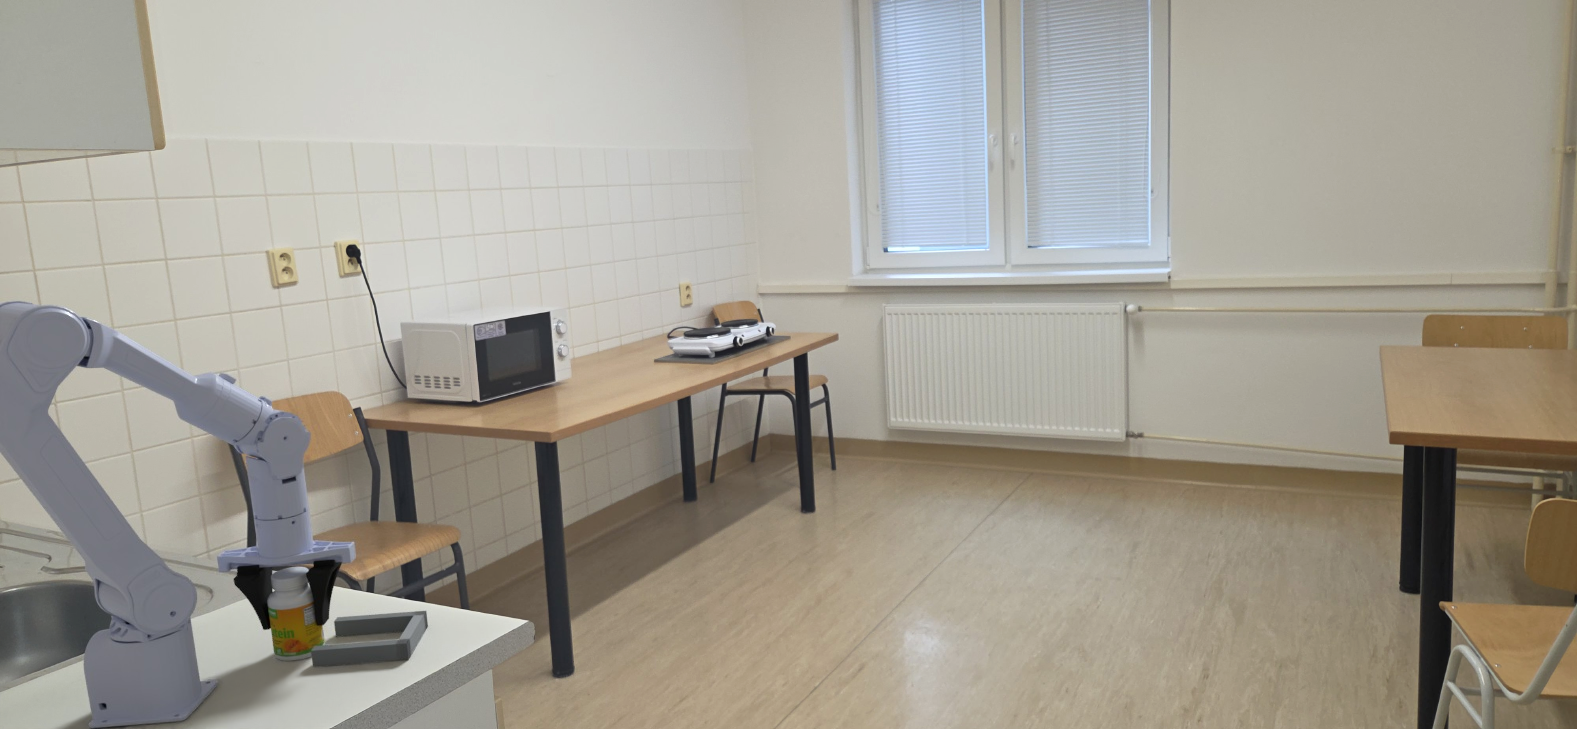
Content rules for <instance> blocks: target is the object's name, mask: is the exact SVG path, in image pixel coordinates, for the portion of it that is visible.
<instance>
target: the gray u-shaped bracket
mask: <svg viewBox="0 0 1577 729" xmlns="http://www.w3.org/2000/svg"><path fill="white" fill-rule="evenodd" d="M427 615H428V613H427V610H416V611H405V612H390V613H378V614H376V613H375V614H364V615H350V616H338V617H336V618H335V619H334V621H333V625H334V631H335V637H336V638H339V637H341V638H342V637H343V638H344V637H353V636H354V637H355V636H356V637H357V636H368V635H379V634H381V635H382V634H394V633H395V634H396V633H402V634H401V635H400V637H399V638H398V639H390V640H377V641H375V640H374V641H364V642H363V641H362V642H349V643H337V644H325V645H322V646H314V648H313V649H312V650H311V655H312V656H311V661H312V662H311V663H312V667H313V668H321V667H332V666H334V667H335V666H347V665H360V664H371V663H385V662H398V661H399V662H400V661H409V660H410V659H411V656H412V654H413V653H414V651H415V649H416V648H417V646H418V644H419V643H420V640H421V639H422V637H423V635H424V634H425V632H426V630H427V628H428V627H429V625H428V623H429V622H428V616H427Z"/></svg>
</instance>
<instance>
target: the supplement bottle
mask: <svg viewBox="0 0 1577 729" xmlns="http://www.w3.org/2000/svg"><path fill="white" fill-rule="evenodd" d="M309 570H310V569H309V568H307V567H305V566H292V567H285V568H283V569H280V570H277V571H275V572H272V575H271V584H272V590H274V591H273V592H272V593H271V594H270V595H269V597H268V600H267V603H268V611H269V618H270V626H271V628H270V632H271V639H272V646H273V648H272V649H273V652H274V653H273V654H274V656H275V658H277V659H278V660H279V661H284V662H286V661H287V662H291V661H292V662H293V661H299V660H304V659H308V658H312V655H311V650H312V649H313V648H314V646H322V645H326V643H325V635H324V625H321V626H317V623H316V619H315V610H314V600H313V596H312V592H311V588H310V585H309V582H308V580H307V577H306V573H307V572H308V571H309Z"/></svg>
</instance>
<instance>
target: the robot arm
mask: <svg viewBox="0 0 1577 729" xmlns="http://www.w3.org/2000/svg"><path fill="white" fill-rule="evenodd" d="M76 367H81V368H84V369H104V370H105V369H106V371H107V370H108V371H110V372H111V373H114V374H116V375H118V376H120V377H122V378H124V379H126V380H128V381H130V382H133V383H135V384H137V385H139V386H141V387H143V388H146V389H147V390H150V391H151V392H154V393H156V394H158V395H160V396H162V397H164V398H166V399H168V400H170V401H173V403H174V404H173V405H174V407H175V411H176V413H177V416H178V418H179V419H180V420H182V421H184V422H186V423H188V424H190V425H192V426H194V427H196V428H198V429H199V430H202V431H203V432H206V433H208V435H209V434H210V435H212V436H214V437H216V438H217V439H220V440H222V441H224V442H225V443H227V444H230V445H232V446H233V447H234V448H235V450H236V451H237V452H238V454H241V455H242V454H244V455H245V454H246V456H245V463H246V469H247V470H246V472H247V478H248V486H249V494H250V501H251V508H252V514H253V522H254V523H253V524H254V530H255V531H254V532H255V536H256V545H254V546H251V547H245V548H236V549H228V550H224V551H222V552H220V554H218V555H217V557H216V559H217V565H218V566H217V567H218V572H219V573H227V572H231V570H236V571H237V572H236V576H235V577H234V578H233V583H234V586H235V587H236V588H237V589H238V590H239V591H240V592H241V593H242V594H243V596H244V597H245V598H246V599H247V600H248V602H249V603H250V605H251V607H252V608H253V610H254V611H255V614H256V615H257V617H258V620H259V623H260V624H261V628H262V630H264V631H266V630H271V626H270V618H269V611H268V603H267V600H268V597H269V595H270V594H271V593H272V592H273V590H274V589H273V588H272V584H271V575H272V574H273V568H274V567H286V566H301V565H302V566H303V565H313V566H312V567H310V568H309V569H308V570H309V571H308V572H307V573H306V577H307V580H308V582H309V583H308V584H309V585H310V588H311V592H312V596H313V600H314V610H315V619H316V623H317V626H321V625H323V626H324V625H325V624H326V623H327V622H328V620H329V619H330V610H331V609H330V608H331V600H332V594H333V590H334V586H335V583H336V579H337V577H338V574H339V571H340V568H341V566H342V565H343V564H352V562H354V560H355V559H356V557H357V553H356V545H355V541H330V540H329V541H326V540H314V537H313V527H312V522H311V514H310V504H309V498H308V491H307V490H308V489H307V483H306V476H305V475H306V474H305V464H304V456H305V453H306V452H307V451H308V449H309V446H310V442H311V436H312V434H311V431H308V430H307V428H306V425H305V424H303V420H302V419H301V418H300V417H299V416H298V415H296V414H294V413H292V412H288V411H283V410H280V409H276V408H275V409H274V408H273V406H272V405H273V400H272V399H270V398H269V397H267V396H264V395H263V396H262V395H261V396H260V397H258V396H256V395H254V394H252V393H251V392H250V391H247V390H246V389H244V388H241V387H240V386H238V385H236V384H235V383H236V381H237V378H235V377H234V376H232V375H230V374H229V373H225V372H220V373H219V375H218V374H216V373H214V372H211V371H210V372H205V373H201V374H197V375H192V374H190V372H187V371H185V370H184V369H183V368H180V367H179V366H177V365H175V364H174V363H172V362H170V361H169V360H167V359H165V358H164V357H162V356H160V355H159V354H157V353H155V352H153V351H152V350H150V349H149V348H147V347H145V346H143V345H141V344H140V343H138V342H136V341H135V340H133V339H131V338H130V337H129V336H126V335H125V334H123V333H121V331H118V330H116V329H114V328H112V327H110V326H108V325H106V324H103V323H102V322H100V321H96V320H95V319H91V318H88V317H84V316H80V315H79V314H77V313H76V312H75V311H74V310H71V309H70V308H67V307H64V306H61V305H54V304H43V305H39V304H34V303H32V302H27V301H22V300H12V301H5V302H1V303H0V455H2V457H3V458H4V459H5V460H6V461H7V463H8V464H9V465H10V467H11V468H12V469H13V471H14V472H15V473H16V475H18V477H19V479H21V481H22V482H23V483H24V485H25V486H26V488H28V490H29V491H30V492H31V494H32V495H33V496H34V497H35V499H36V500H37V501H38V502H39V504H40V505H41V507H42V508H43V509H44V511H45V512H46V513H47V514H48V515H49V517H50V518H51V519H52V521H53V523H55V525H56V526H57V528H58V529H59V530H60V531H61V532H62V533H63V535H64V536H65V537H66V538H67V540H68V541H69V542H70V544H71V546H73V548H74V549H75V550H76V552H77V553H78V554H79V555H80V557H81V558H82V559H83V561H84V563H85V565H84V569H85V572H86V573H87V575H88V576H89V577H90V579H91V580H92V583H93V589H94V598H95V601H96V603H97V605H98V606H99V608H100V609H101V610H103V611H104V612H105V613H107V614H109V615H110V618H111V620H110V624H109V628H106V629H102V630H98V631H97V632H95V633H94V634H93V635H92V636H91V637H90V639H89V641H88V642H87V645H86V647H85V651H84V656H83V672H84V678H85V684H86V690H87V697H88V701H89V707H90V713H91V721H89V722H88V727H89V729H96V728H97V729H98V728H107V727H108V728H109V727H110V728H111V727H122V726H132V725H135V726H136V725H147V724H159V723H172V722H181V721H182V722H183V721H184V720H187V719H188V718H189V716H191V714H192V713H193V712H194V711H195V710H196V709H197V708H198V707H199V706H200V705H201V704H202V702H203V701H204V700H205V699H206V698H207V697H208V696H209V695H210V694H211V693H212V692H213V690H215V688H216V687H217V686H218V685H219V681H218V680H217V679H213V680H201V677H200V672H199V670H200V669H199V664H198V658H197V652H196V644H195V638H194V632H193V625H192V619H191V617H192V615H193V614H194V612H195V610H196V607H197V602H198V592H197V588H196V586H195V584H194V583H193V581H192V579H190V578H189V577H188V576H186V575H185V574H182V573H180V572H176V571H174V570H172V568H170V567H169V565H167V564H166V562H165V561H164V560H163V559H162V557H161V556H159V554H158V553H157V552H155V551H154V550H153V549H152V548H151V547H150V546H148V545H147V544H146V542H144V541H143V540H142V539H141V538H140V537H139V535H138V534H137V533H136V531H135V529H134V528H133V527H132V525H131V524H130V523H129V521H128V520H127V519H126V518H125V516H124V515H123V514H122V512H121V510H119V508H118V507H117V505H116V504H115V503H114V501H113V500H112V499H111V497H110V496H109V494H108V492H106V490H105V489H104V488H103V486H102V485H101V483H100V482H99V481H98V479H97V478H96V477H95V475H94V474H93V472H92V471H91V470H90V469H89V467H88V466H87V464H86V463H85V461H83V459H82V457H80V455H79V454H78V452H77V451H76V449H75V448H74V447H73V445H72V444H71V443H70V442H69V440H68V439H67V437H66V436H65V435H64V433H63V432H62V431H61V429H60V427H58V425H57V423H56V422H55V421H54V420H53V418H52V417H51V415H50V413H49V409H50V407H51V404H52V402H53V399H54V397H55V395H56V393H57V390H58V388H59V386H60V385H61V384H62V383H63V382H64V381H65V379H66V378H68V376H69V375H70V374H71V373H72V372H73V371H74V370H75V369H76Z"/></svg>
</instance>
